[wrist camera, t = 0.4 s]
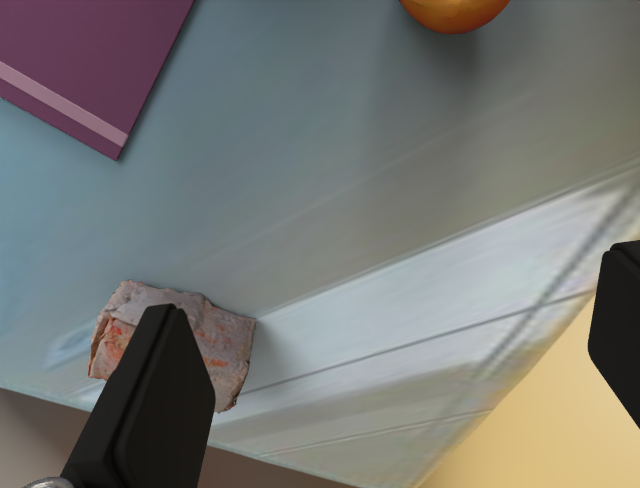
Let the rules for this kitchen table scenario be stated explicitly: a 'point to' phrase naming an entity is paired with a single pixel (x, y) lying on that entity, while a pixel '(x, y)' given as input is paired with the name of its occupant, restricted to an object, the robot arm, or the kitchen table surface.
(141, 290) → the food item
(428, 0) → the fruit
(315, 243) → the kitchen table surface
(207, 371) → the robot arm
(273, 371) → the kitchen table surface
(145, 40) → the towel
